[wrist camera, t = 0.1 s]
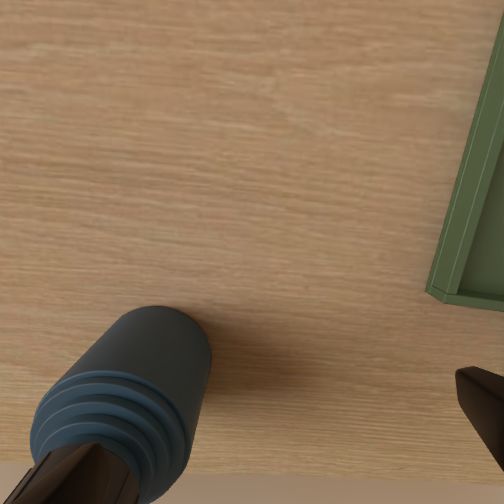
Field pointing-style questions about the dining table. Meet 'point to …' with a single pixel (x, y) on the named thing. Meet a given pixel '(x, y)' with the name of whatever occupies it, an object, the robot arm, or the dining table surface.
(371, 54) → the dining table surface
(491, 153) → the tray
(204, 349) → the flask
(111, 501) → the flask cap
